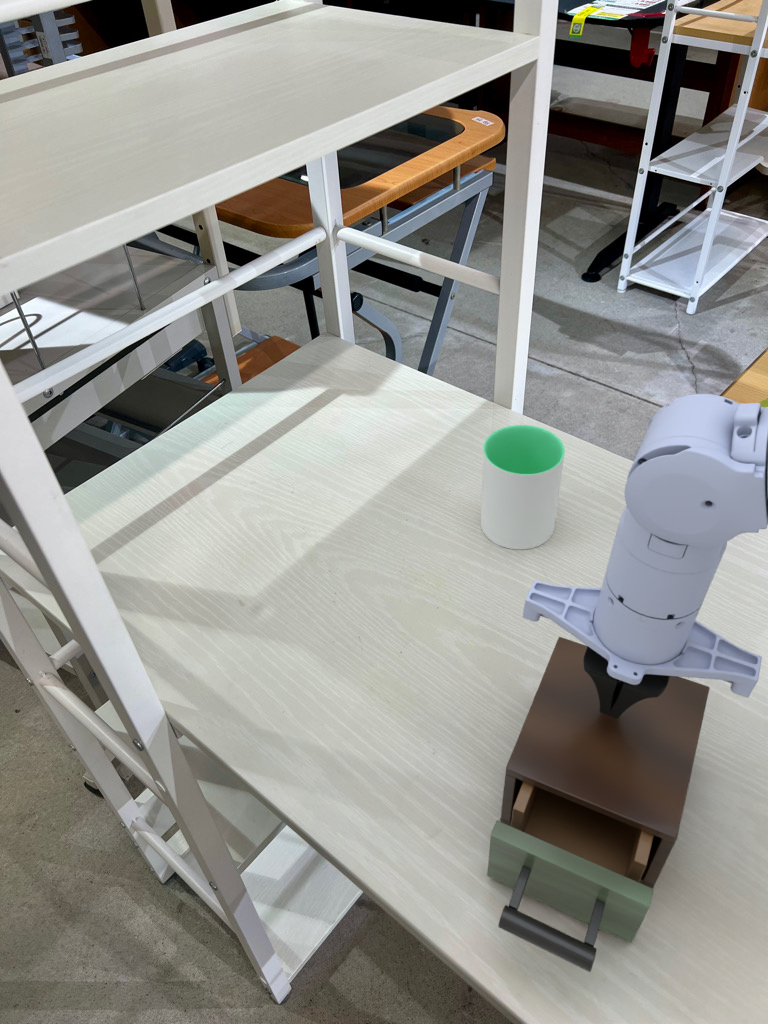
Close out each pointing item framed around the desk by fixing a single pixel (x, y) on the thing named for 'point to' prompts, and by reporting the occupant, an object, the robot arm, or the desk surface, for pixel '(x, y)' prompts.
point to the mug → (521, 486)
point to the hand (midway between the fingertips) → (612, 704)
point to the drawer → (570, 872)
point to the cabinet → (610, 751)
